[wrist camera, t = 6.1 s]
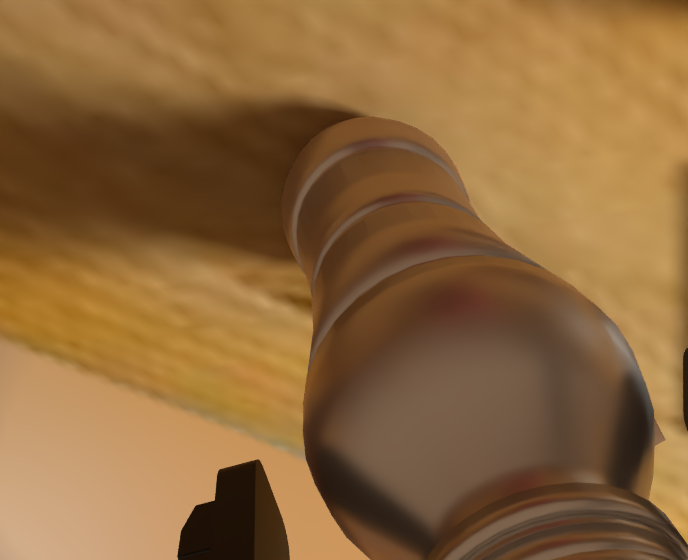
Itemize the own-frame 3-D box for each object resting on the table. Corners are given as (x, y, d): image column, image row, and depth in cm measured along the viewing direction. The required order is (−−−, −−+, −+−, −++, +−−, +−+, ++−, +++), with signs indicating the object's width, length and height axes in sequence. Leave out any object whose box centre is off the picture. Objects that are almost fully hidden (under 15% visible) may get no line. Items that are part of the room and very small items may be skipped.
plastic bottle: (371, 65, 23) (725, 370, 5) (480, 196, 26) (966, 700, 8) (243, 185, 25) (180, 750, 7) (359, 298, 27) (540, 927, 9)
